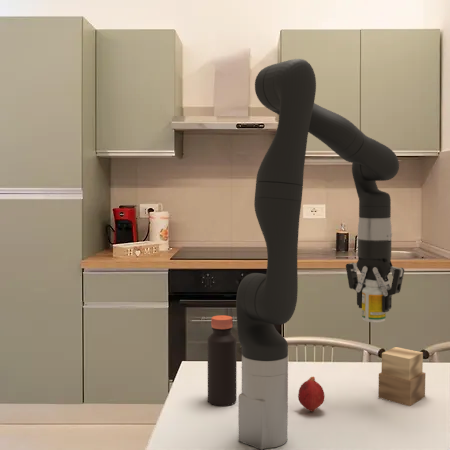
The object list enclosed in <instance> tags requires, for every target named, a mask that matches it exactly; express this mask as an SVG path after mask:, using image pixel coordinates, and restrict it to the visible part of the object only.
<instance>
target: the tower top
mask: <svg viewBox="0 0 450 450" xmlns="http://www.w3.org/2000/svg"><path fill="white" fill-rule="evenodd" d="M423 356H424V352H422V351H418V350H417V351H416V350H412V349H408V348H403V347H397V346H395V347H392V348H390V349H388V350H386V351H383V352H382V353H381V372H382V374H385V375H389V376H394V377H398V378H402V379H406V380H411V379H412V378H414V377H416V376H418V375H420V374H422V372H423V366H424V365H423V364H424V363H423V362H424V361H423V360H424V357H423Z"/></svg>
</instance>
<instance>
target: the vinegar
mask: <svg viewBox="0 0 450 450" xmlns="http://www.w3.org/2000/svg"><path fill="white" fill-rule="evenodd" d="M210 319H211V321H210V322H211V331H212V333H211V334H210V335H209V337H208V338H207V401H208V403H210V405H212V406H218V407H226V406H231V405H234V404H235V403H236V402H237V338H236V336H235V335H234V334H233V333H232V330H233V316H230V315H213V316H212V317H211V318H210Z"/></svg>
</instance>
